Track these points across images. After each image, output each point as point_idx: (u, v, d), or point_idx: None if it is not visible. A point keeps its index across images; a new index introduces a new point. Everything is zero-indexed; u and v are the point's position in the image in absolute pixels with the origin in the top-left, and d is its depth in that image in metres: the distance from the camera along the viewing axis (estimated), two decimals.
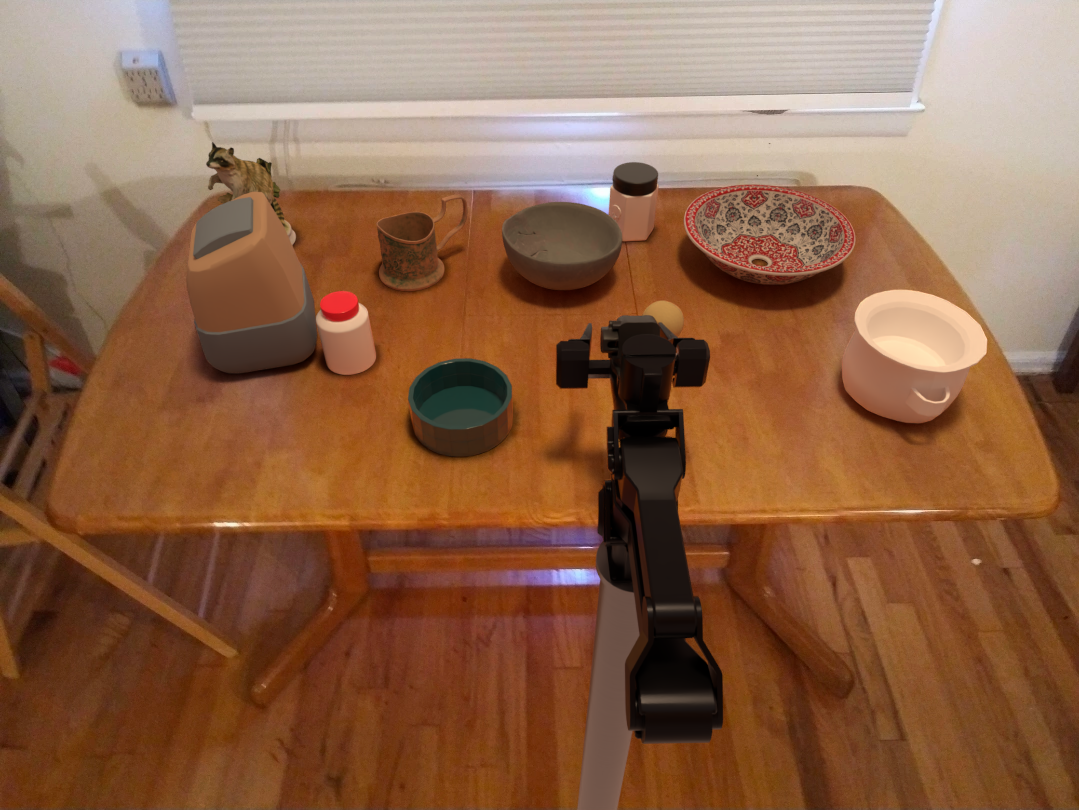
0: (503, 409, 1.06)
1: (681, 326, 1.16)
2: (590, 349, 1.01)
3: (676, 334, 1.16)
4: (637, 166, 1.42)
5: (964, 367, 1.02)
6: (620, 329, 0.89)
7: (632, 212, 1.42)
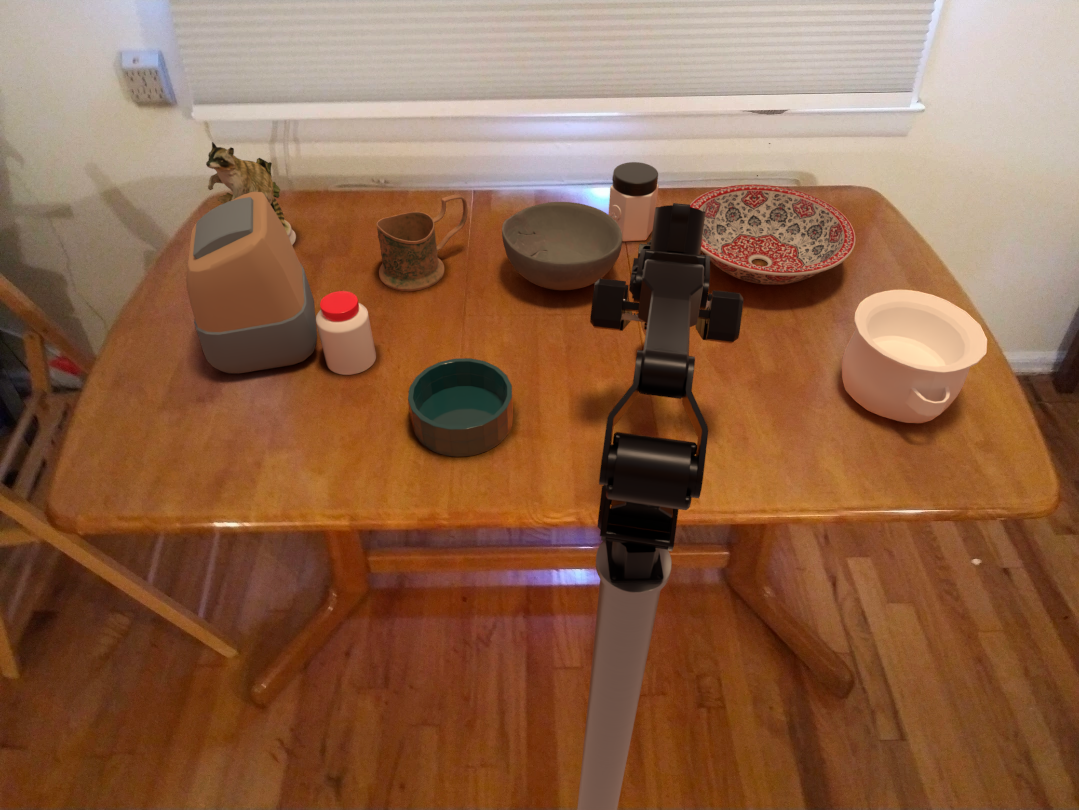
0: (503, 409, 1.06)
1: None
2: None
3: None
4: (637, 166, 1.42)
5: (964, 367, 1.02)
6: None
7: (632, 212, 1.42)
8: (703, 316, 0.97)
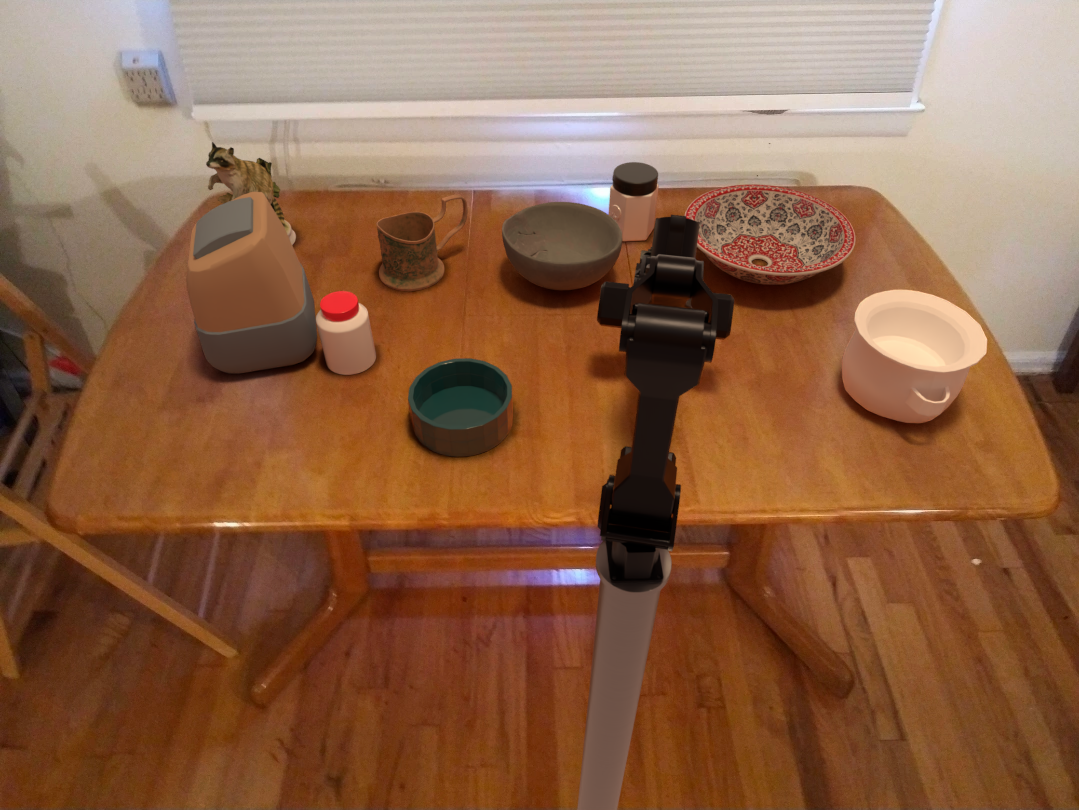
0: (503, 409, 1.06)
1: None
2: None
3: None
4: (637, 166, 1.42)
5: (964, 367, 1.02)
6: None
7: (632, 212, 1.42)
8: None
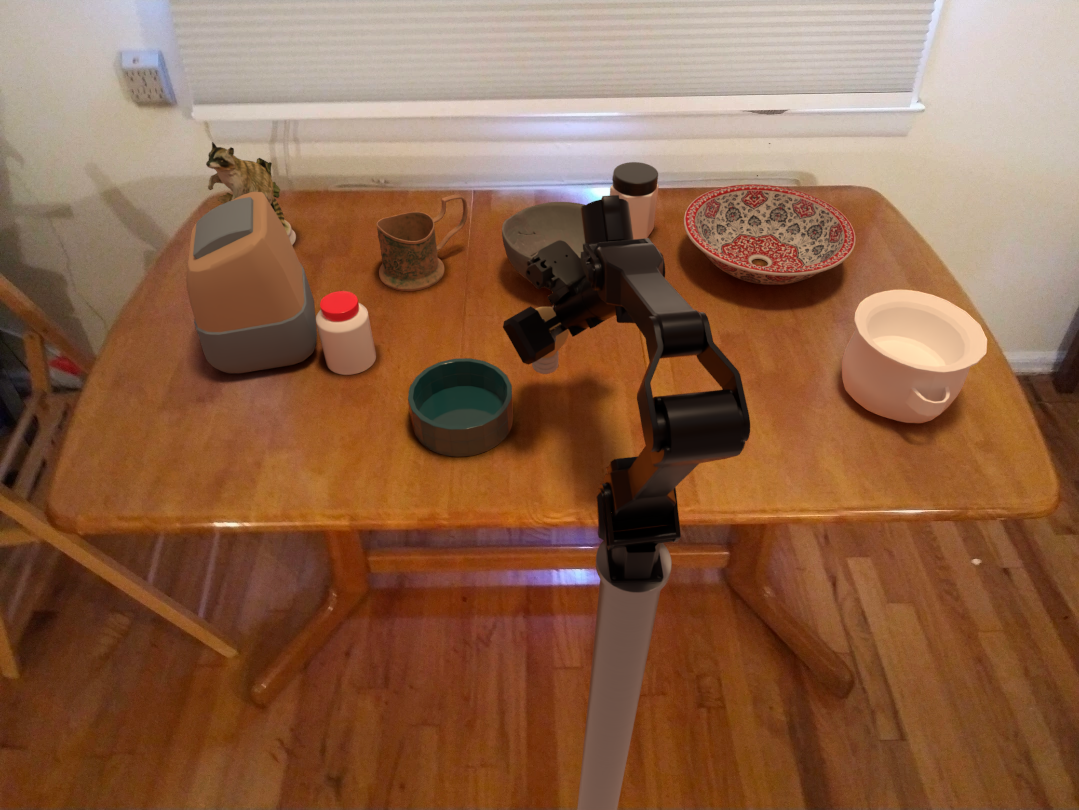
0: (503, 409, 1.06)
1: None
2: None
3: None
4: (637, 166, 1.42)
5: (964, 367, 1.02)
6: (539, 256, 0.95)
7: (632, 212, 1.42)
8: None
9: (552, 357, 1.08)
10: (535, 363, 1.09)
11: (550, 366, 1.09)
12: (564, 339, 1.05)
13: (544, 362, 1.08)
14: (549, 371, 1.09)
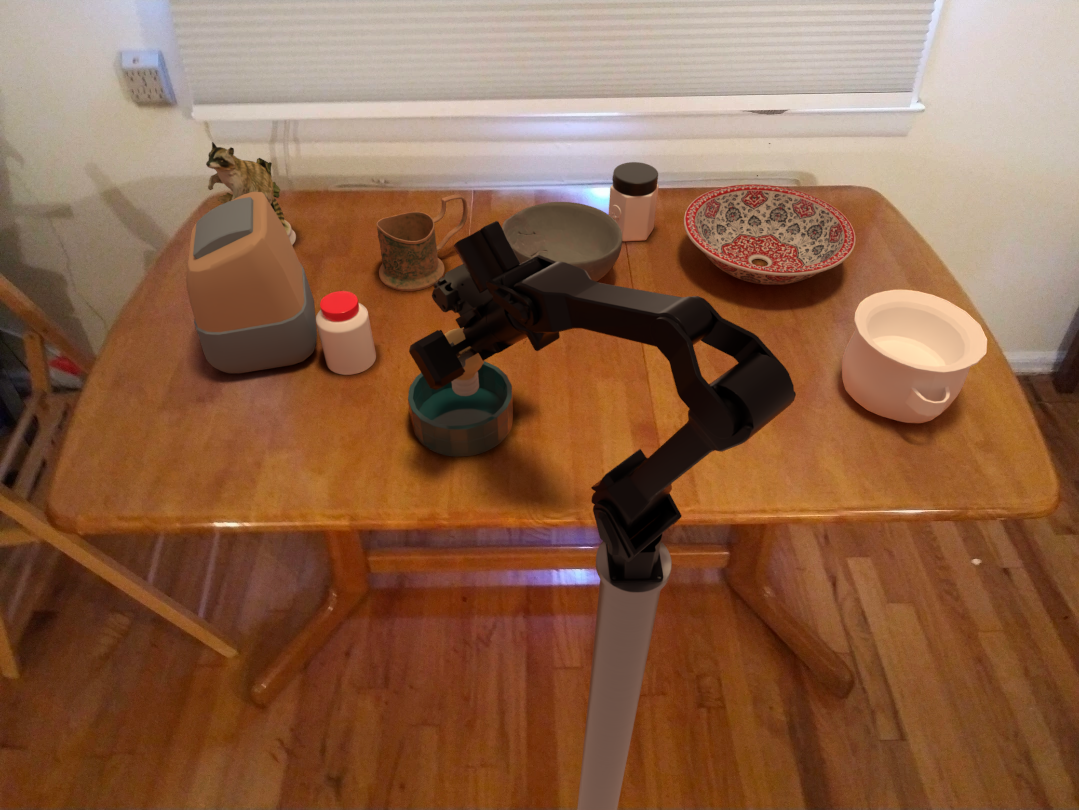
0: (503, 409, 1.06)
1: None
2: None
3: None
4: (637, 166, 1.42)
5: (964, 367, 1.02)
6: (446, 279, 0.93)
7: (632, 212, 1.42)
8: None
9: (471, 379, 1.05)
10: (454, 385, 1.06)
11: (469, 388, 1.06)
12: (480, 361, 1.03)
13: (462, 384, 1.05)
14: (468, 393, 1.07)
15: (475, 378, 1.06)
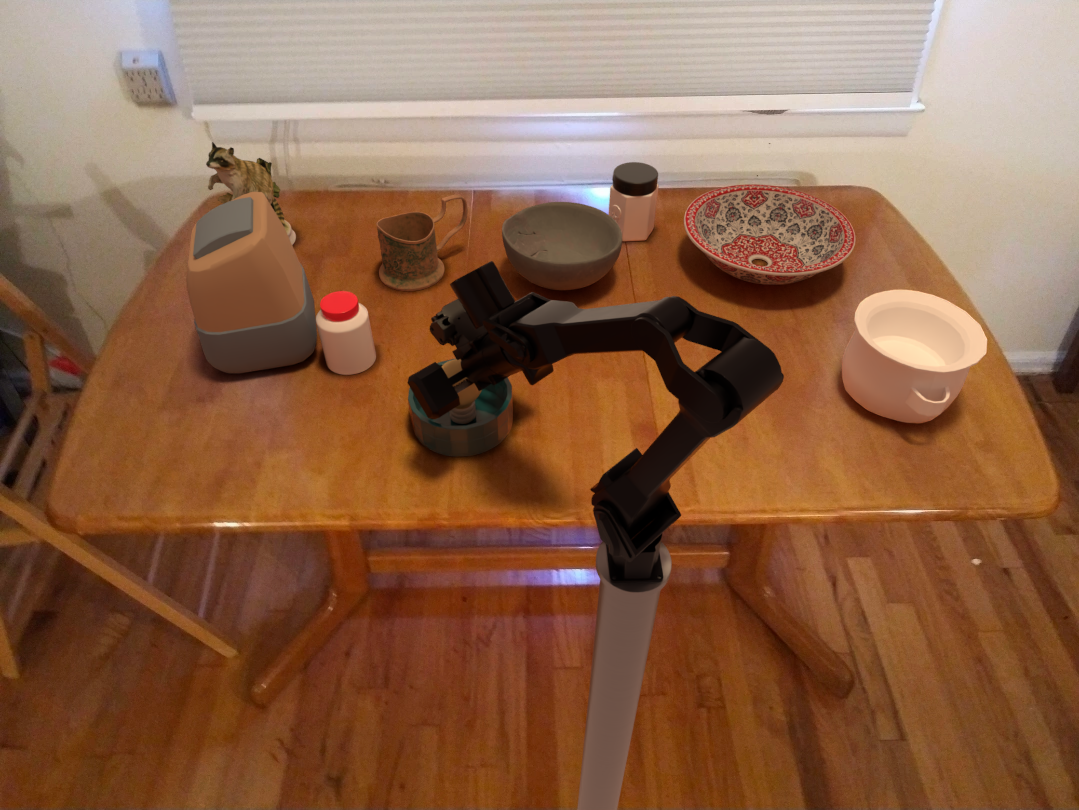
0: (503, 409, 1.06)
1: None
2: None
3: None
4: (637, 166, 1.42)
5: (964, 367, 1.02)
6: (443, 313, 0.96)
7: (632, 212, 1.42)
8: None
9: (468, 408, 1.09)
10: (451, 413, 1.10)
11: (466, 417, 1.09)
12: (477, 392, 1.06)
13: (460, 413, 1.09)
14: (465, 421, 1.10)
15: (472, 407, 1.09)
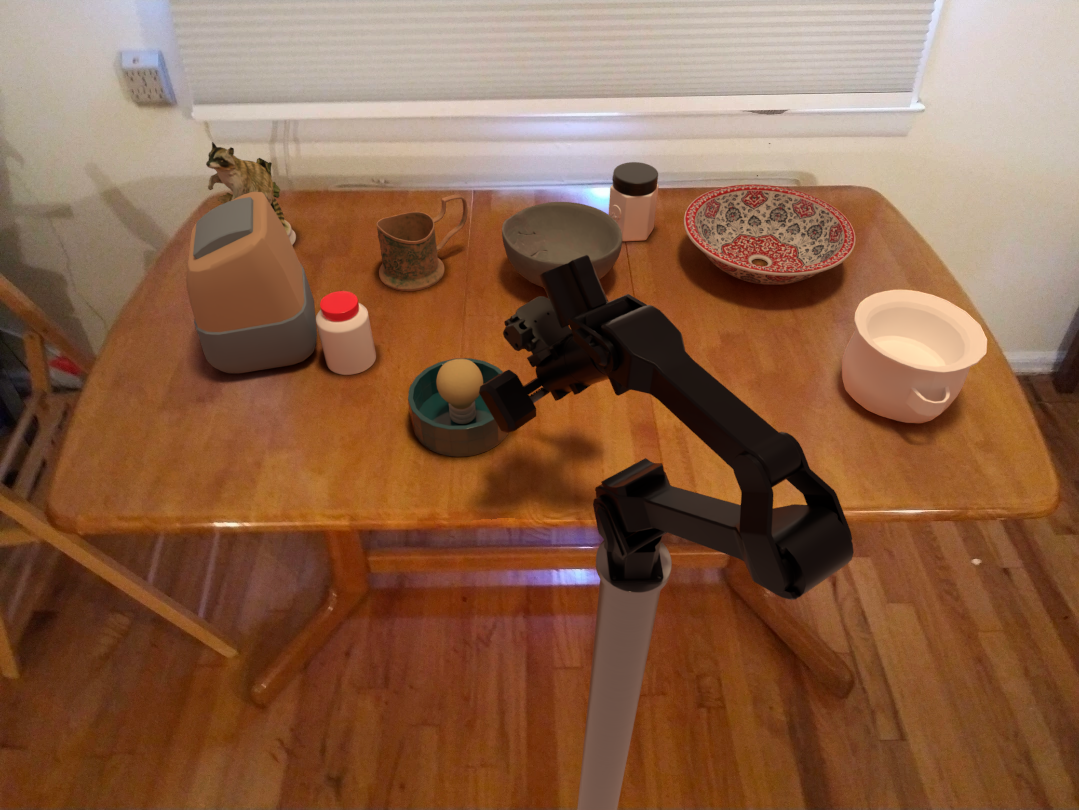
0: None
1: None
2: None
3: None
4: (637, 166, 1.42)
5: (964, 367, 1.02)
6: (518, 315, 0.87)
7: (632, 212, 1.42)
8: None
9: (468, 408, 1.09)
10: (451, 413, 1.10)
11: (466, 417, 1.09)
12: (477, 392, 1.06)
13: (460, 413, 1.09)
14: (465, 421, 1.10)
15: (472, 407, 1.09)
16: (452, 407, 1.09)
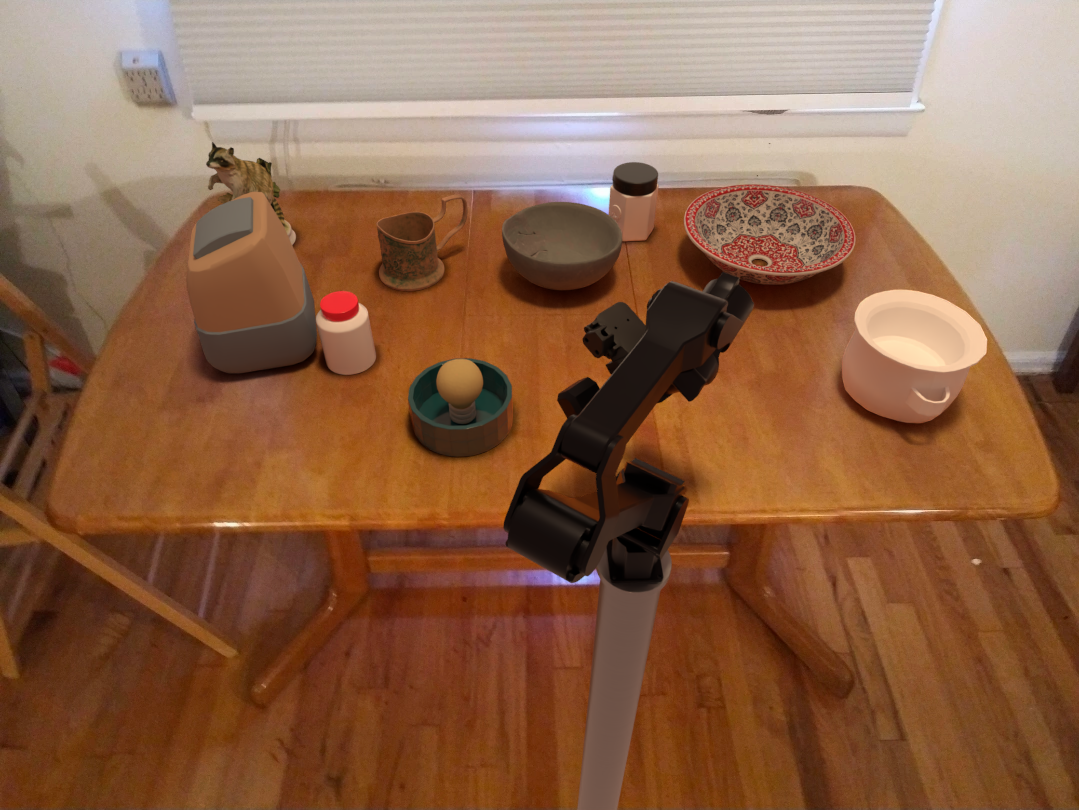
0: (503, 409, 1.06)
1: None
2: None
3: (482, 384, 1.07)
4: (637, 166, 1.42)
5: (964, 367, 1.02)
6: (599, 322, 0.85)
7: (632, 212, 1.42)
8: None
9: (468, 408, 1.09)
10: (451, 413, 1.10)
11: (466, 417, 1.09)
12: (477, 392, 1.06)
13: (460, 413, 1.09)
14: (465, 421, 1.10)
15: (472, 407, 1.09)
16: (452, 407, 1.09)
